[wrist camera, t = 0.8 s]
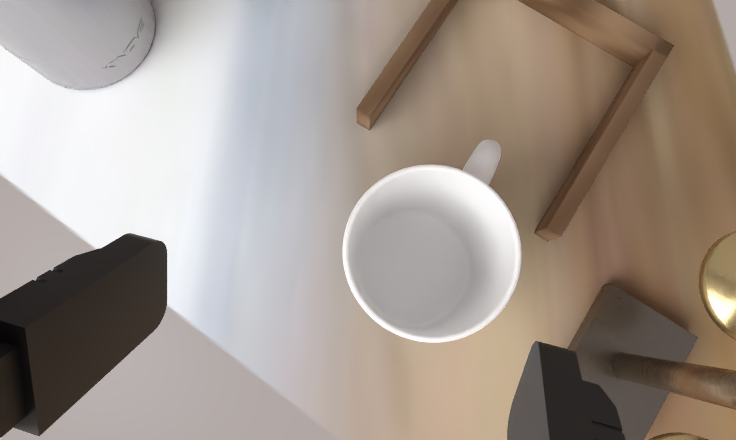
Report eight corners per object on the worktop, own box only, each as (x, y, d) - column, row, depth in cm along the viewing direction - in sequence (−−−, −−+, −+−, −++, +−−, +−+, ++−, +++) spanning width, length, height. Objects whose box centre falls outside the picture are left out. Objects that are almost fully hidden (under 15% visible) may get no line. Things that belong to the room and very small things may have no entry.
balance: (509, 450, 32) (668, 604, 15) (633, 232, 35) (888, 158, 18) (595, 507, 32) (856, 731, 15) (714, 282, 34) (1058, 254, 17)
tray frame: (357, 122, 36) (356, 108, 33) (470, -43, 38) (477, -67, 36) (547, 241, 34) (561, 235, 32) (653, 63, 37) (673, 45, 34)
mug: (422, 138, 36) (445, 70, 26) (527, 203, 35) (593, 159, 25) (324, 287, 34) (307, 277, 24) (433, 358, 33) (463, 379, 23)
